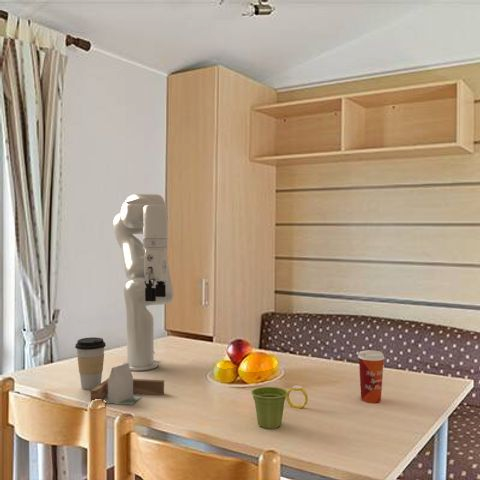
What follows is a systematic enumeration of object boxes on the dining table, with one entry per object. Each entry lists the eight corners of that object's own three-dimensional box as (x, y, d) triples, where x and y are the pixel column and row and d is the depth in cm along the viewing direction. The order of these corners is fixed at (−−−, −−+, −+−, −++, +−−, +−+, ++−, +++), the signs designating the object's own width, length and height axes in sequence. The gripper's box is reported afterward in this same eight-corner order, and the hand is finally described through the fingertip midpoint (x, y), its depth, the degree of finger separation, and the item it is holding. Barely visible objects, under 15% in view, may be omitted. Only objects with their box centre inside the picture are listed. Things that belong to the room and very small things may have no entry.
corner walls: (109, 390, 175) (109, 377, 175) (164, 393, 172) (164, 380, 172) (90, 404, 162) (90, 390, 162) (149, 407, 159) (149, 393, 159)
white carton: (133, 396, 168) (132, 363, 167) (117, 403, 162) (117, 368, 162) (123, 394, 170) (123, 362, 169) (107, 401, 164) (107, 367, 163)
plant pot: (249, 419, 150) (249, 386, 150) (284, 417, 151) (284, 385, 151) (253, 432, 141) (253, 398, 140) (290, 431, 142) (290, 396, 141)
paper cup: (369, 405, 161) (369, 357, 160) (352, 398, 167) (352, 351, 167) (390, 401, 164) (390, 354, 164) (372, 394, 171) (373, 348, 170)
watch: (308, 408, 160) (309, 387, 159) (305, 411, 157) (306, 390, 157) (288, 403, 162) (289, 383, 162) (284, 406, 160) (286, 386, 159)
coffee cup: (98, 392, 173) (97, 343, 173) (69, 390, 175) (69, 342, 175) (111, 383, 183) (110, 337, 182) (84, 381, 185) (83, 336, 184)
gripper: (158, 245, 166) (158, 303, 167) (174, 243, 183) (175, 295, 184) (133, 245, 168) (134, 302, 168) (152, 243, 185) (153, 294, 185)
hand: (155, 298), depth 176 cm, fingers open, 9 cm apart
